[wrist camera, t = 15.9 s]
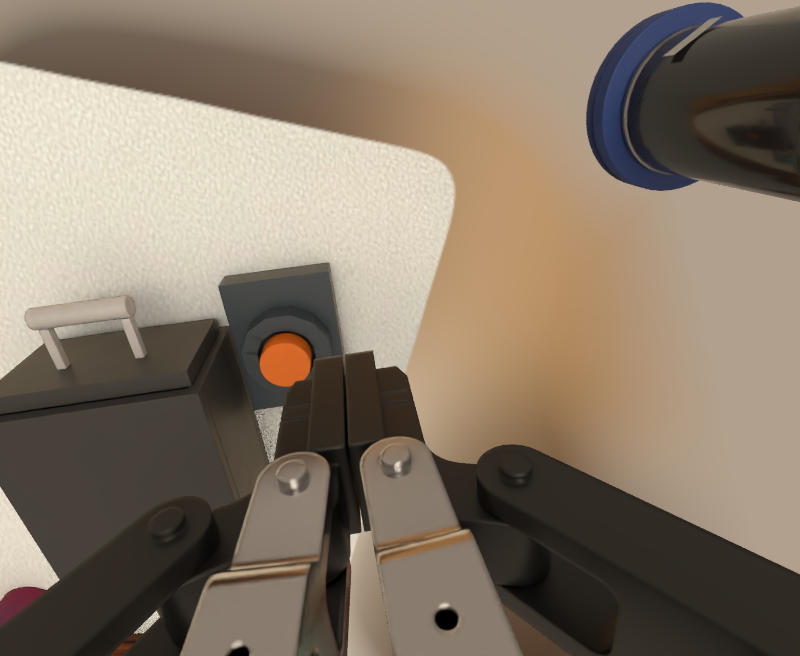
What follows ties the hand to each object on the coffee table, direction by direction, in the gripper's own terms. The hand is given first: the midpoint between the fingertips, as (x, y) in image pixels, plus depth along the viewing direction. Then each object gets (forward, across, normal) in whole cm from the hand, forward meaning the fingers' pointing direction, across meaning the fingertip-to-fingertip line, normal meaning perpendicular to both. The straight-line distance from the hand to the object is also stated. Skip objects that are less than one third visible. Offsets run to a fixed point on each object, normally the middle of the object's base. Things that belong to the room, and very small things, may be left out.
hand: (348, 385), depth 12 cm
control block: (+25, +6, +10) cm, 27 cm away
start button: (+21, +5, +10) cm, 24 cm away
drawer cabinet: (+25, +17, +16) cm, 34 cm away
